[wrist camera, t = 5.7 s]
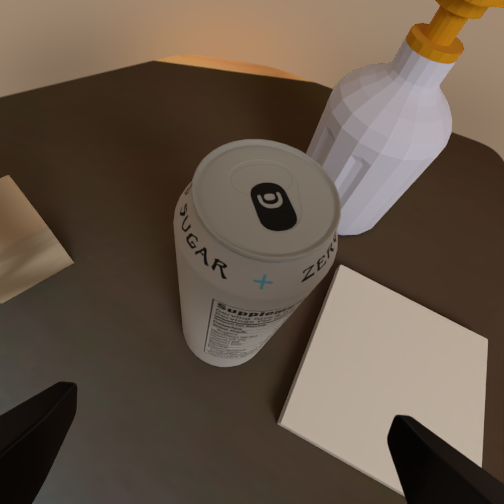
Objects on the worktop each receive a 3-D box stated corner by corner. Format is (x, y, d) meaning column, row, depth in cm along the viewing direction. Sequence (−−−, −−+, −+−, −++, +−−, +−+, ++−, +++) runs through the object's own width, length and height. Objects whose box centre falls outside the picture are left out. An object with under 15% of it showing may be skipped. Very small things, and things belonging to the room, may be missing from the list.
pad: (465, 531, 19) (478, 535, 18) (276, 423, 20) (280, 423, 19) (477, 342, 25) (487, 339, 25) (335, 269, 27) (340, 264, 26)
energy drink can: (251, 280, 25) (315, 122, 12) (275, 355, 22) (393, 255, 9) (175, 297, 23) (155, 133, 10) (192, 381, 20) (195, 302, 8)
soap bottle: (314, 246, 27) (721, -346, 6) (278, 171, 31) (458, -354, 10) (394, 228, 30) (864, -230, 9) (352, 161, 34) (614, -271, 13)
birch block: (2, 304, 21) (-47, 272, 16) (-31, 253, 22) (-84, 211, 18) (74, 263, 23) (47, 226, 19) (40, 219, 24) (8, 174, 20)
